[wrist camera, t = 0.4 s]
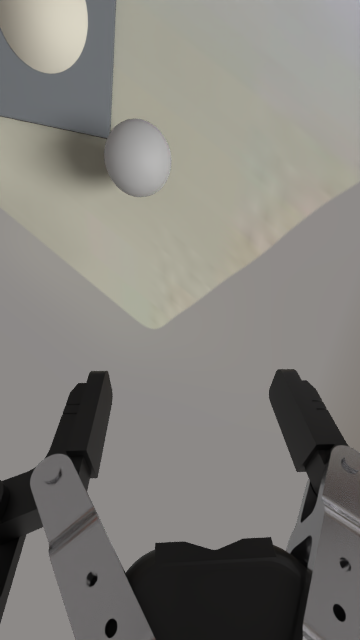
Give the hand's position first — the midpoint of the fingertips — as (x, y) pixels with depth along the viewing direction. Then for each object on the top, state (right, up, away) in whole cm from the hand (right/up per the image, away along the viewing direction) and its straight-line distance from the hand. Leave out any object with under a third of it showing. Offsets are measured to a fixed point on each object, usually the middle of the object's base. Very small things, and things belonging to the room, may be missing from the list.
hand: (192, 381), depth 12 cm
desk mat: (-14, +33, +13) cm, 38 cm away
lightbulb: (-4, +21, +19) cm, 29 cm away
